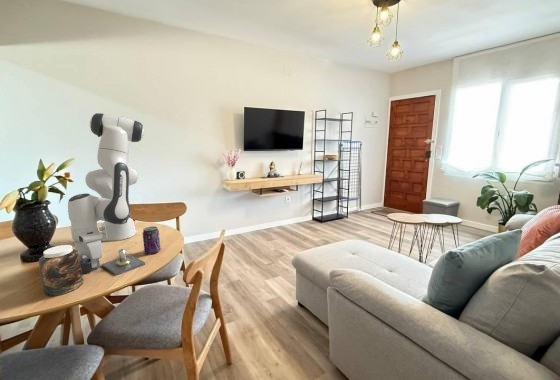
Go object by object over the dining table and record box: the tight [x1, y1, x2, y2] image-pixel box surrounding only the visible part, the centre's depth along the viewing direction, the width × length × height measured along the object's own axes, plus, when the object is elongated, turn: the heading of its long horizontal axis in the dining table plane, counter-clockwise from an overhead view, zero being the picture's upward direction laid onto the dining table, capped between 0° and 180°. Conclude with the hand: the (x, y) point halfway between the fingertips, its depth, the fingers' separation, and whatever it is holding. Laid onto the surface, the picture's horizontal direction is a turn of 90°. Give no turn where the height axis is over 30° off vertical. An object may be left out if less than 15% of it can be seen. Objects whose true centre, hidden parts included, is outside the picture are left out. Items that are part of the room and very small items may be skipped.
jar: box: [38, 244, 84, 297], centre depth 98 cm, size 12×12×15 cm
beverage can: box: [142, 225, 161, 255], centre depth 129 cm, size 7×7×12 cm
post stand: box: [101, 248, 146, 276], centre depth 115 cm, size 14×12×7 cm
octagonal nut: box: [80, 258, 101, 274], centre depth 112 cm, size 6×6×4 cm
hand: (89, 264), depth 113 cm, fingers open, 8 cm apart
